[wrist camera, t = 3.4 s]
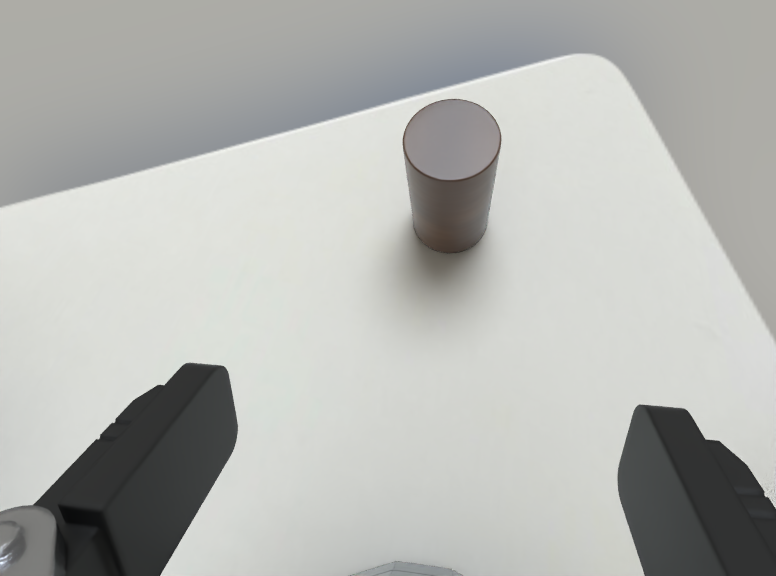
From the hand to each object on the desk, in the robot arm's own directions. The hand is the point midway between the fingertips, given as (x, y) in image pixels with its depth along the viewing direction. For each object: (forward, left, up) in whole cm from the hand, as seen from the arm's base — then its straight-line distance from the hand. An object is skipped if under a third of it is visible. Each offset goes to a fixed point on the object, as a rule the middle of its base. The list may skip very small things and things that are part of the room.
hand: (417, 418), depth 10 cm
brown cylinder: (0, -13, -17) cm, 21 cm away
